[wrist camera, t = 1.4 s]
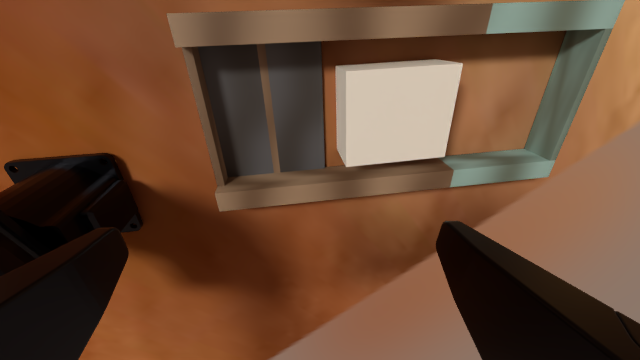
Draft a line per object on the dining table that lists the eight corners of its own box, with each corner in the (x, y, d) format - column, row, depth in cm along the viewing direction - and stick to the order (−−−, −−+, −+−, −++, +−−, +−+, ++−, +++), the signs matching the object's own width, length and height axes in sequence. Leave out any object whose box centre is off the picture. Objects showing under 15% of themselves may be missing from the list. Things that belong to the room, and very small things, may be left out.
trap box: (225, 193, 21) (219, 211, 19) (182, 16, 15) (166, 13, 13) (523, 164, 24) (548, 177, 22) (583, 3, 18) (625, -1, 16)
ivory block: (336, 147, 21) (346, 167, 18) (334, 65, 18) (346, 71, 15) (421, 139, 22) (444, 156, 18) (432, 58, 19) (463, 63, 16)
